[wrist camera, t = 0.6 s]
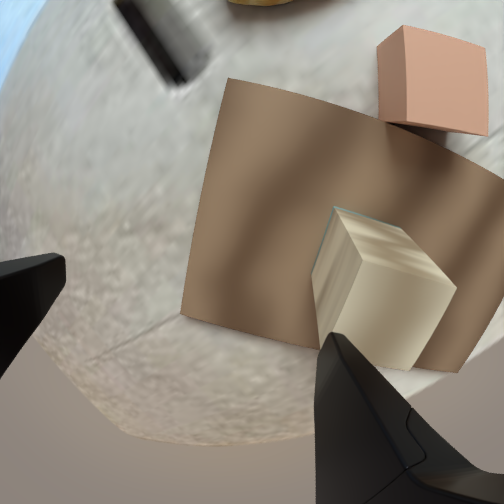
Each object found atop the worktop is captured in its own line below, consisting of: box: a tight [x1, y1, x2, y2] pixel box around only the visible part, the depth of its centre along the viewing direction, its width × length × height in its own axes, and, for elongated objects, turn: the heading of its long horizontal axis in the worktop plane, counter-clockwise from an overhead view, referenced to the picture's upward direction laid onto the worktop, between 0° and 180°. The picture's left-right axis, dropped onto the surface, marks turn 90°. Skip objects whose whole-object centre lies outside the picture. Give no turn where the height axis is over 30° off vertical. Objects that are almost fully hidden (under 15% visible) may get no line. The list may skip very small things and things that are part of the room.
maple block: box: [311, 206, 457, 371], centre depth 15 cm, size 4×4×8 cm
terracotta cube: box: [377, 25, 488, 137], centre depth 14 cm, size 5×5×5 cm
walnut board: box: [180, 78, 504, 373], centre depth 20 cm, size 24×16×1 cm, turn 76°
